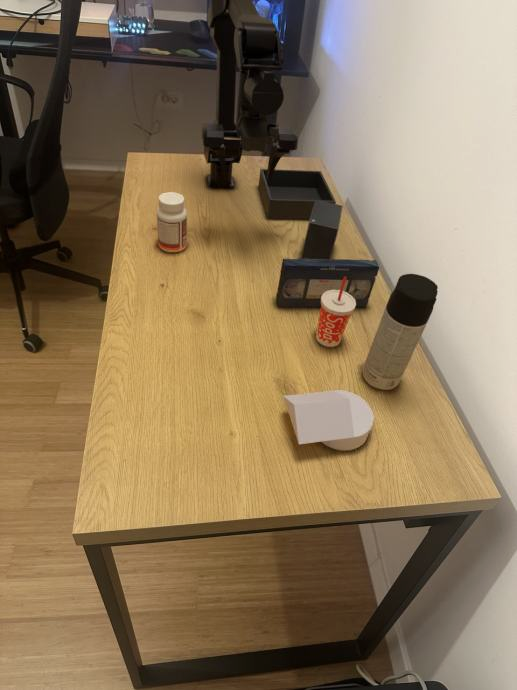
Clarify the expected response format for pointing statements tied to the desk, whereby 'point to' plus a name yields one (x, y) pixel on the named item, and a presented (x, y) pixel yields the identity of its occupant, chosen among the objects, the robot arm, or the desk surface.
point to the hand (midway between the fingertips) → (246, 178)
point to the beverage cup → (334, 315)
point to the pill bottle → (172, 222)
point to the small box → (322, 230)
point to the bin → (292, 193)
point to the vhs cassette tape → (324, 280)
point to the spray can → (399, 330)
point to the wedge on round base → (330, 418)
